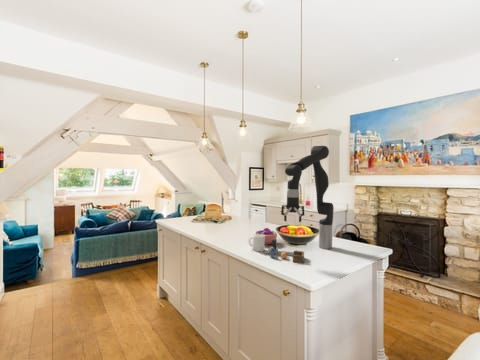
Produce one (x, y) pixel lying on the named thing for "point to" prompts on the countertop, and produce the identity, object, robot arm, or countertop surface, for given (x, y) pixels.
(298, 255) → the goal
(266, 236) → the cell model
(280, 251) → the rail
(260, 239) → the mug
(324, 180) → the robot arm
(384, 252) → the countertop surface
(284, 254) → the ball
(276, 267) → the countertop surface
